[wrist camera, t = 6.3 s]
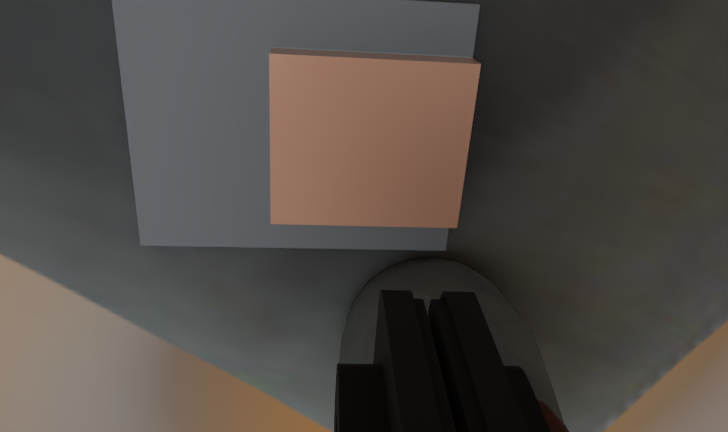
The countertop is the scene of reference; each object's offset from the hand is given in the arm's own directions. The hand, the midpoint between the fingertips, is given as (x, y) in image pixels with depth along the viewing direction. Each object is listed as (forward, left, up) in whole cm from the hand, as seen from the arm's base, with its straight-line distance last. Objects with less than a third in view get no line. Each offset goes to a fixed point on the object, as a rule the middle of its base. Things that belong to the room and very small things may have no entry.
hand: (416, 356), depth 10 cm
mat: (+2, +1, -16) cm, 16 cm away
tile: (+4, +1, -14) cm, 15 cm away
